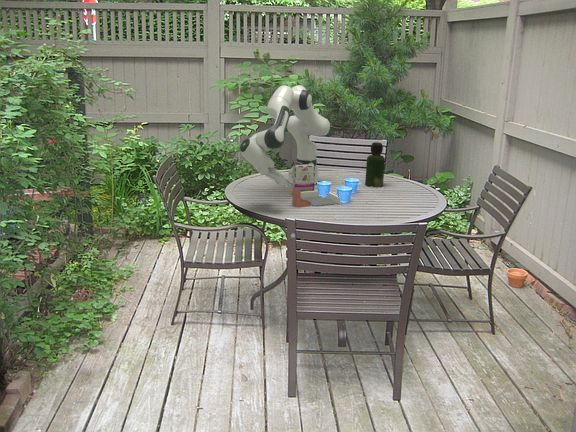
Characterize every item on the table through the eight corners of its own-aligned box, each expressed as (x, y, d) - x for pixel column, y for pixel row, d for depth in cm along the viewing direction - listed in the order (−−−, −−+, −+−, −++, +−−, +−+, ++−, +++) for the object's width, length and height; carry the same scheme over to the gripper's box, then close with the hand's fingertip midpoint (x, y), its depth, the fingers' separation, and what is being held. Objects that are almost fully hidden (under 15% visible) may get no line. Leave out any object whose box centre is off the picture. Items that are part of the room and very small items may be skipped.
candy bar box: (311, 193, 349) (312, 163, 344) (314, 195, 344) (315, 165, 340) (291, 193, 346) (292, 164, 341) (294, 196, 341) (295, 166, 337)
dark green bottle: (386, 186, 371) (389, 144, 364) (370, 187, 367) (373, 144, 360) (377, 183, 380) (380, 141, 373) (361, 183, 376) (364, 141, 370)
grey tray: (298, 198, 337) (298, 191, 336) (324, 196, 344) (325, 189, 343) (313, 206, 322) (314, 199, 321) (341, 204, 329) (341, 197, 328)
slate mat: (299, 199, 336) (299, 198, 335) (323, 197, 342) (323, 196, 342) (313, 206, 322) (313, 205, 322) (338, 204, 328) (338, 203, 328)
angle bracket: (292, 204, 324) (292, 187, 321) (306, 203, 327) (306, 186, 325) (296, 207, 319) (297, 189, 317) (310, 206, 323) (311, 188, 320)
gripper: (278, 165, 300) (296, 184, 307) (261, 157, 318) (278, 175, 325) (269, 175, 299) (287, 194, 306) (252, 166, 317) (270, 184, 324)
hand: (282, 184), depth 315 cm, fingers open, 8 cm apart
